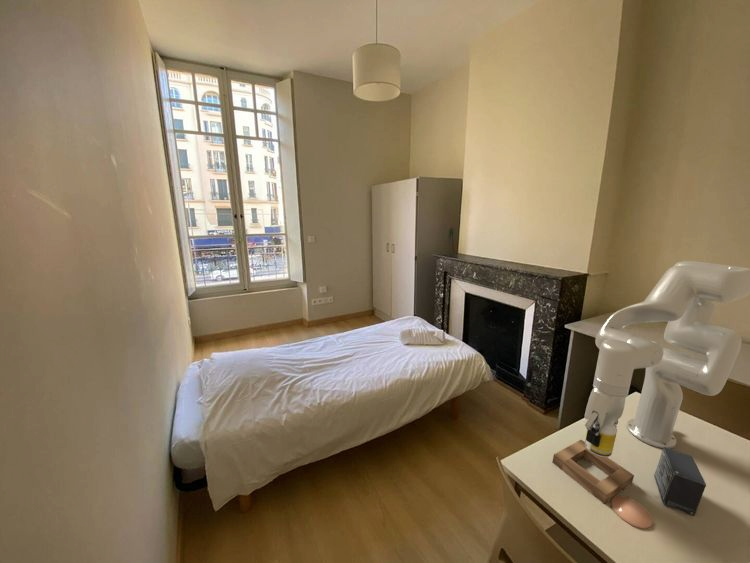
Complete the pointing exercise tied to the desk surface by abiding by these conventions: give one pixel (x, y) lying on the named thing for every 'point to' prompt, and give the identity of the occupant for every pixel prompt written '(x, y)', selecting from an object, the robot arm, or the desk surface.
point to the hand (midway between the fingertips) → (600, 438)
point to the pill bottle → (604, 441)
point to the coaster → (631, 512)
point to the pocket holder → (599, 489)
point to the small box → (679, 481)
